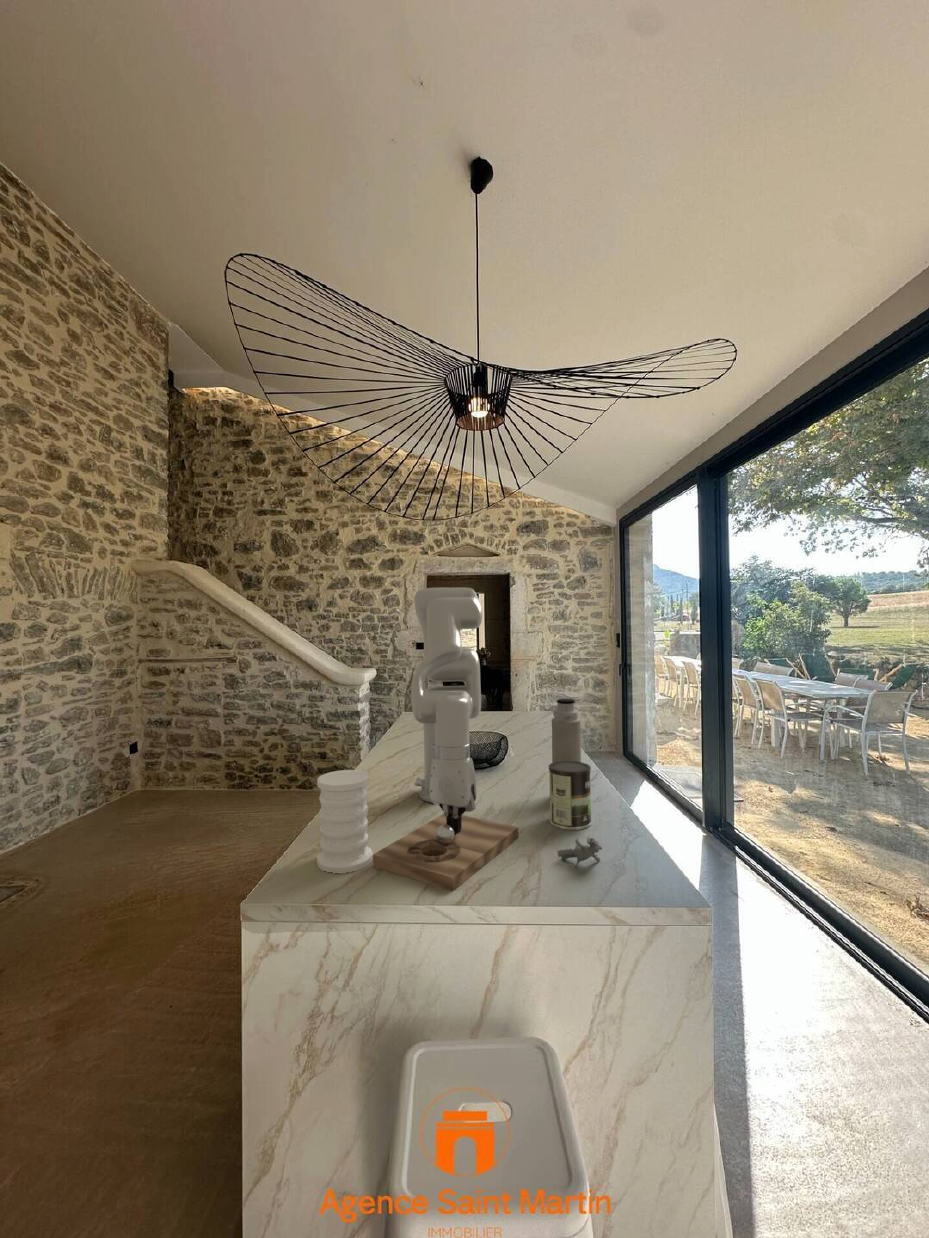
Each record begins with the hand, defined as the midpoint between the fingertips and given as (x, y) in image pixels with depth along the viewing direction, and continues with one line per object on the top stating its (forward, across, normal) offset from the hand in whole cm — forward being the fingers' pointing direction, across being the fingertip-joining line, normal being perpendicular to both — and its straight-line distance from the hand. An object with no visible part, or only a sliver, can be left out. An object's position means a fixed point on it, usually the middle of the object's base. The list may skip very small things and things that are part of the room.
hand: (454, 833), depth 121 cm
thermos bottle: (+4, +10, +43) cm, 45 cm away
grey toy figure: (+4, +27, +6) cm, 28 cm away
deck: (+3, 0, -2) cm, 4 cm away
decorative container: (+4, -17, -17) cm, 24 cm away
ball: (-1, 0, -4) cm, 4 cm away
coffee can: (+4, +17, +27) cm, 32 cm away
